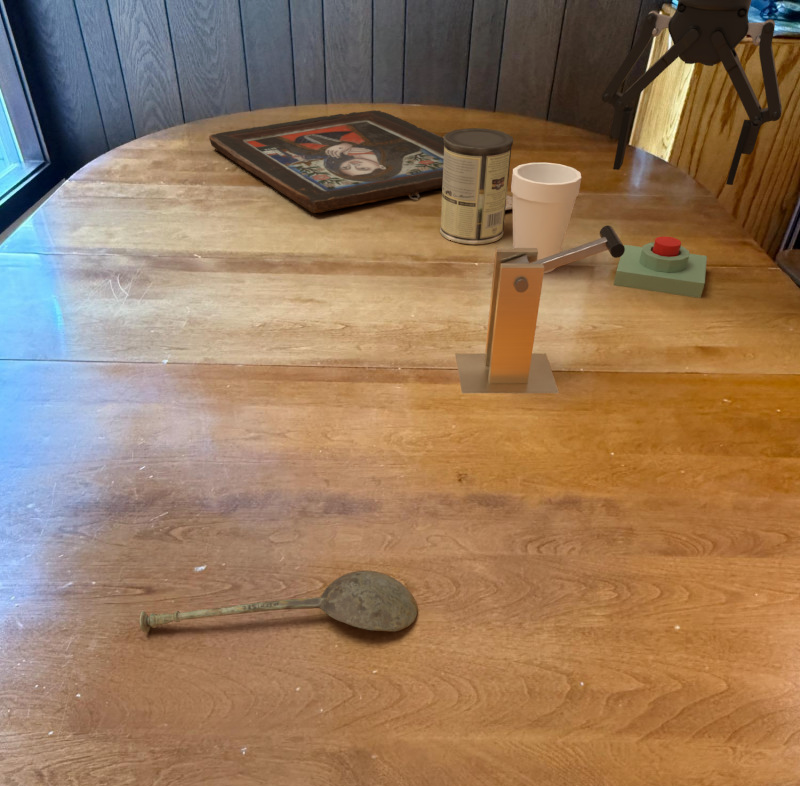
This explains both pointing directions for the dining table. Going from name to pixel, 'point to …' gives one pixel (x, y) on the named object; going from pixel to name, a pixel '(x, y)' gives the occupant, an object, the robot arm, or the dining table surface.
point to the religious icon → (339, 158)
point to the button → (666, 246)
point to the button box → (661, 271)
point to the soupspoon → (329, 604)
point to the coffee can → (475, 185)
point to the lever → (580, 251)
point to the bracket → (510, 333)
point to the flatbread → (509, 203)
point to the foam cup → (543, 205)
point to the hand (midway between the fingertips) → (672, 174)
